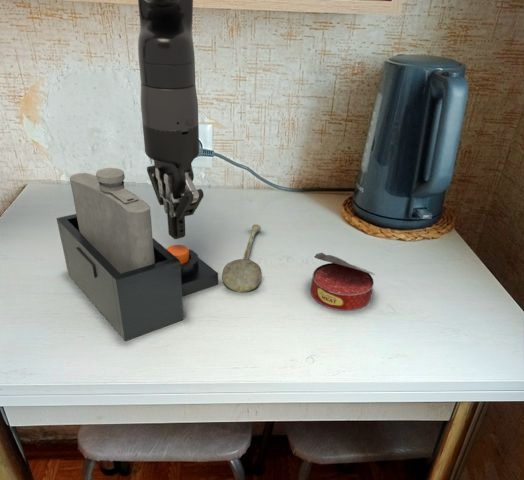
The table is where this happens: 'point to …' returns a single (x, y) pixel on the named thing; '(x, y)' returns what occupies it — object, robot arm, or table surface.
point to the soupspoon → (243, 270)
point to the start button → (179, 252)
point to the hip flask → (113, 219)
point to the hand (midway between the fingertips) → (177, 236)
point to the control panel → (196, 275)
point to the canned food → (341, 284)
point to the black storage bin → (124, 284)
